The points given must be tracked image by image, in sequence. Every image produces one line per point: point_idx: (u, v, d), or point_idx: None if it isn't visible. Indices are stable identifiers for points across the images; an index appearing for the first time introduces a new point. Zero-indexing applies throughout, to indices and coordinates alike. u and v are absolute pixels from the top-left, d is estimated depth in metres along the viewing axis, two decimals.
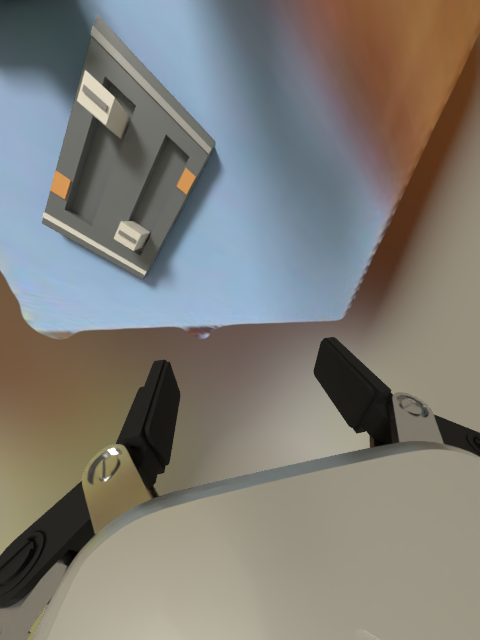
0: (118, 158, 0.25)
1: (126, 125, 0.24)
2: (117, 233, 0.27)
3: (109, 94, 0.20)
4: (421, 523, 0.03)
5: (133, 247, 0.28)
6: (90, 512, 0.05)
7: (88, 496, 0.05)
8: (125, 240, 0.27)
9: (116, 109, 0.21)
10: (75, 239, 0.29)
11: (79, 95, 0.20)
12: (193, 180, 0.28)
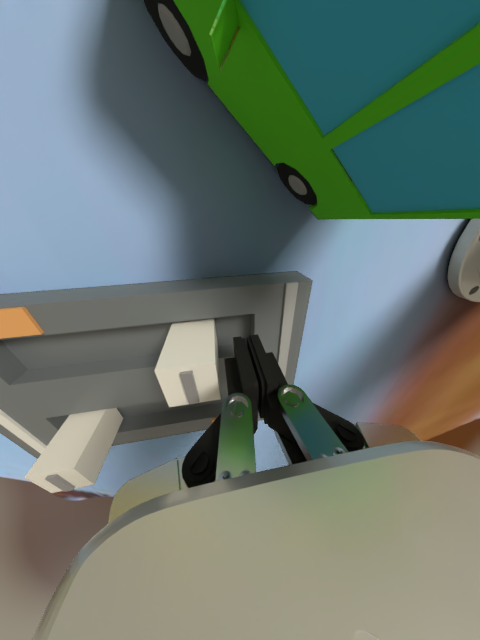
0: None
1: None
2: (44, 476, 0.12)
3: (216, 394, 0.10)
4: (422, 523, 0.03)
5: (57, 490, 0.13)
6: (220, 429, 0.06)
7: (222, 417, 0.07)
8: (50, 483, 0.12)
9: None
10: None
11: (167, 370, 0.09)
12: None
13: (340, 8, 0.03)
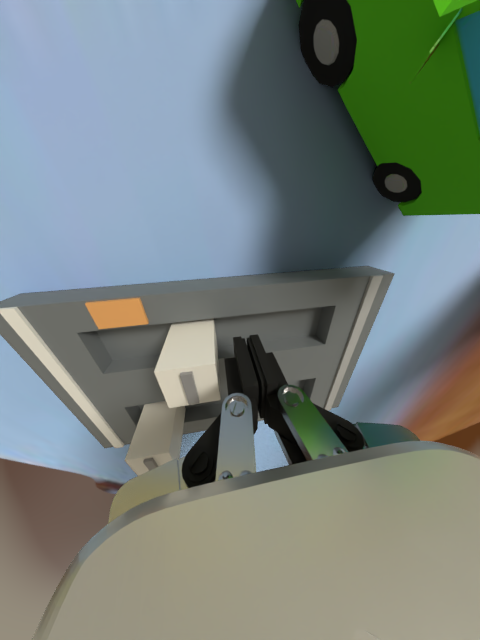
0: None
1: None
2: (141, 459, 0.12)
3: (216, 394, 0.10)
4: (421, 523, 0.03)
5: None
6: (220, 429, 0.06)
7: (222, 417, 0.07)
8: (143, 467, 0.13)
9: None
10: (38, 367, 0.12)
11: (167, 371, 0.09)
12: None
13: None
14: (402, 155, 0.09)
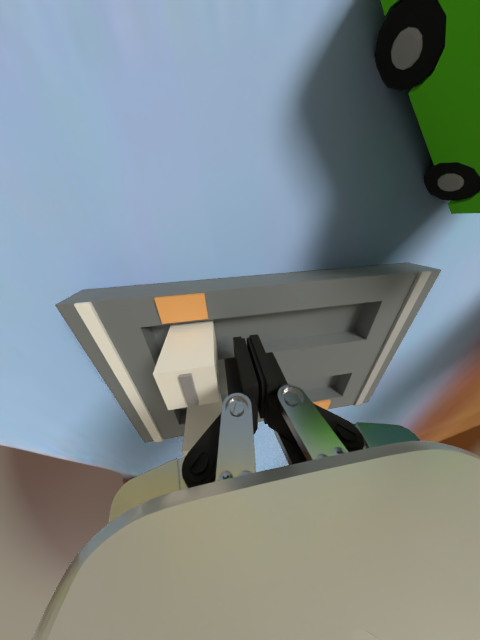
0: (293, 351, 0.15)
1: None
2: None
3: (216, 396, 0.10)
4: (421, 523, 0.03)
5: None
6: (220, 429, 0.06)
7: (222, 417, 0.07)
8: None
9: None
10: (98, 361, 0.12)
11: (166, 373, 0.08)
12: None
13: None
14: (467, 155, 0.09)
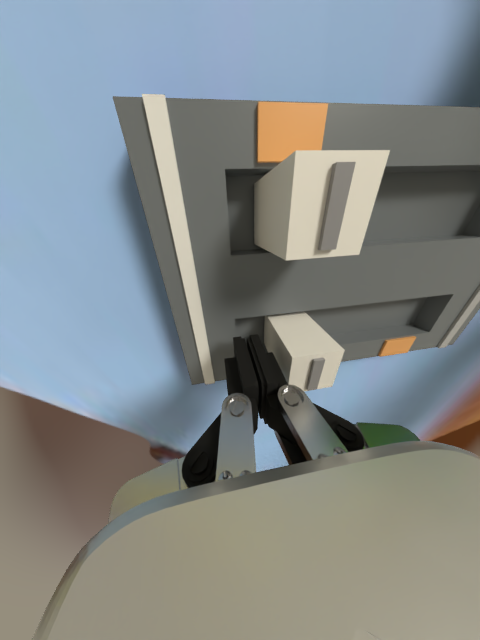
0: (402, 246, 0.11)
1: None
2: (311, 358, 0.09)
3: (359, 240, 0.06)
4: (422, 523, 0.03)
5: None
6: (220, 429, 0.06)
7: (222, 417, 0.07)
8: (302, 375, 0.10)
9: None
10: (158, 232, 0.09)
11: (315, 155, 0.05)
12: (401, 352, 0.17)
13: None
14: None
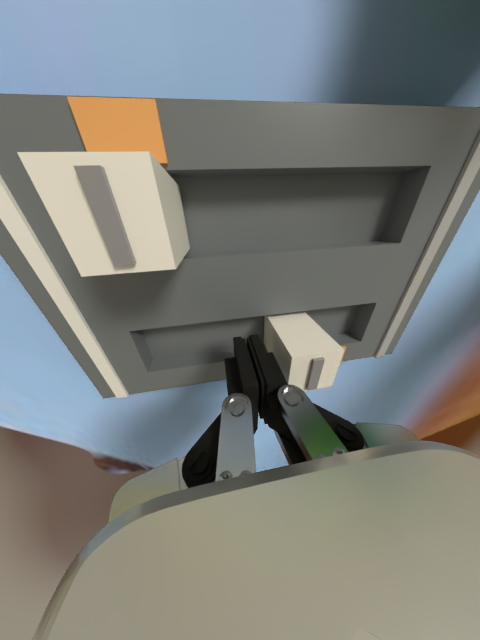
0: (300, 254, 0.10)
1: None
2: (311, 358, 0.09)
3: (167, 253, 0.06)
4: (421, 523, 0.03)
5: None
6: (220, 429, 0.06)
7: (222, 417, 0.07)
8: (302, 374, 0.10)
9: None
10: (1, 240, 0.08)
11: (48, 157, 0.04)
12: None
13: None
14: None
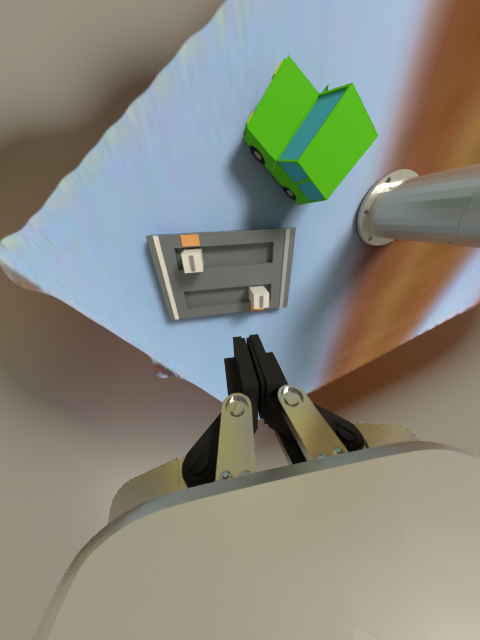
0: (238, 266, 0.33)
1: None
2: (259, 295, 0.32)
3: (201, 268, 0.28)
4: (421, 523, 0.03)
5: (256, 307, 0.34)
6: (220, 429, 0.06)
7: (222, 417, 0.07)
8: (258, 301, 0.33)
9: None
10: (156, 264, 0.31)
11: (185, 254, 0.27)
12: (261, 309, 0.38)
13: (294, 170, 0.23)
14: (285, 184, 0.28)
